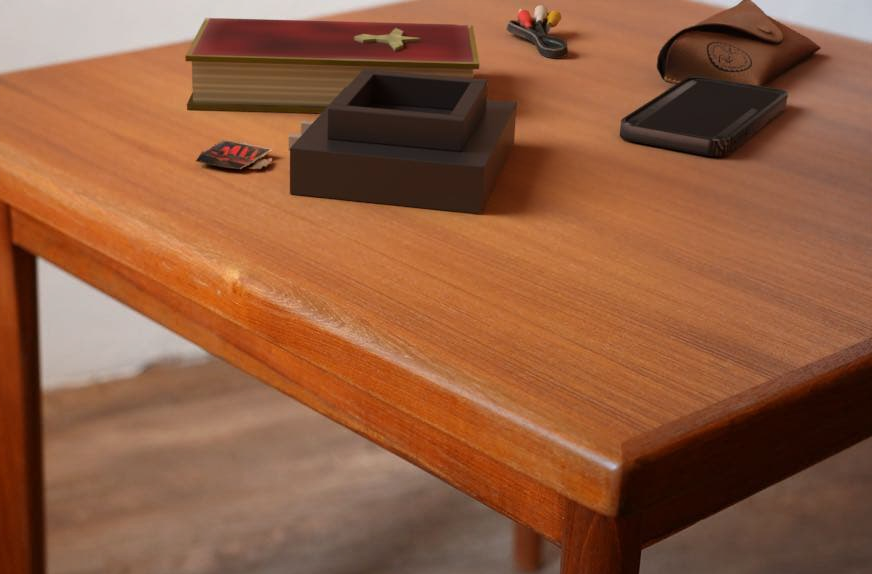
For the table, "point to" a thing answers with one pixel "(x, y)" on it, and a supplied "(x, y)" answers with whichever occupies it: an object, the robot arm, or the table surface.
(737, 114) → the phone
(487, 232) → the table surface
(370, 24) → the hardcover book
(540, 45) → the composite cable
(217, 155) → the matchbox
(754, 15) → the sunglasses case
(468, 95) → the stepped square holder
